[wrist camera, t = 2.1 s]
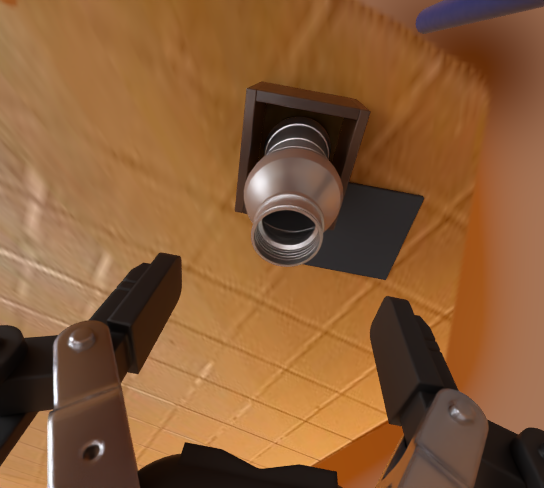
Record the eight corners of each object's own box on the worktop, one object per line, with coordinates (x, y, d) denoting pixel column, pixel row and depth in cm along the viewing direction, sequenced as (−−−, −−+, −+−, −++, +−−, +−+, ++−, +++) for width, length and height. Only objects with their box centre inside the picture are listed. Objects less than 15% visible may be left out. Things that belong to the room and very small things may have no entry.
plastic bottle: (259, 122, 31) (201, 195, 14) (324, 104, 30) (343, 162, 13) (275, 179, 34) (243, 294, 17) (334, 166, 33) (361, 278, 16)
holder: (261, 81, 29) (246, 87, 22) (356, 99, 29) (371, 111, 22) (249, 182, 35) (234, 211, 28) (329, 197, 35) (333, 230, 28)
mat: (318, 176, 34) (318, 177, 33) (422, 195, 34) (424, 198, 33) (297, 260, 40) (297, 263, 40) (384, 277, 40) (385, 280, 39)
